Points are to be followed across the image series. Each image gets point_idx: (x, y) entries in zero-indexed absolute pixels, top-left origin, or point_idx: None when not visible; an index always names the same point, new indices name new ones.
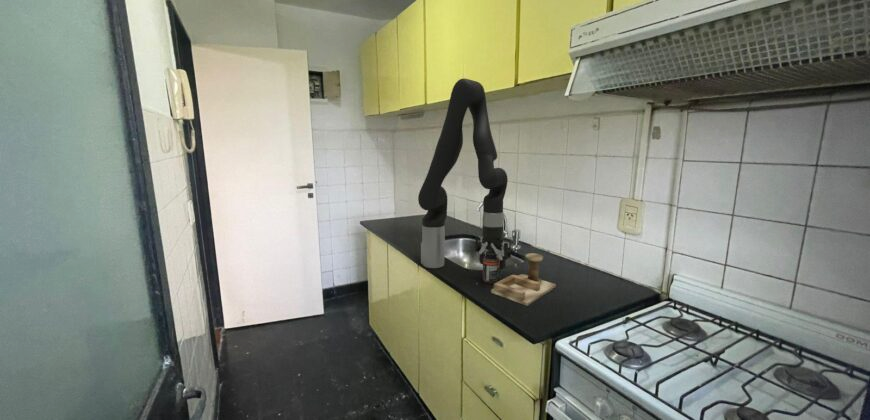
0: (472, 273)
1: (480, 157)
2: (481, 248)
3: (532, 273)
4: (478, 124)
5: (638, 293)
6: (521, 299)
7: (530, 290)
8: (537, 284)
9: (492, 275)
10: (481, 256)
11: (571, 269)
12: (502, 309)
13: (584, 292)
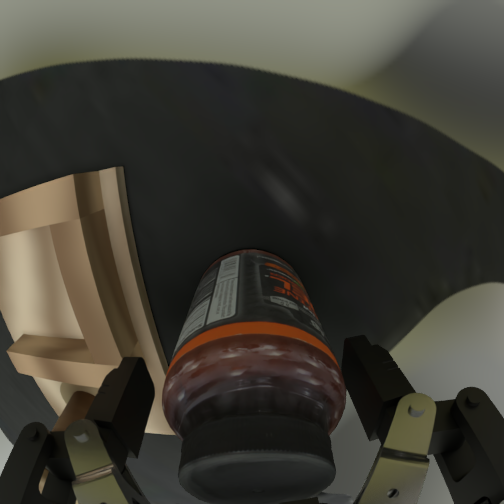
0: (396, 291)
1: None
2: (420, 469)
3: (61, 418)
4: None
5: (15, 441)
6: None
7: (33, 324)
8: (7, 352)
9: (197, 296)
10: (380, 387)
11: (154, 495)
12: (7, 100)
13: (23, 410)
